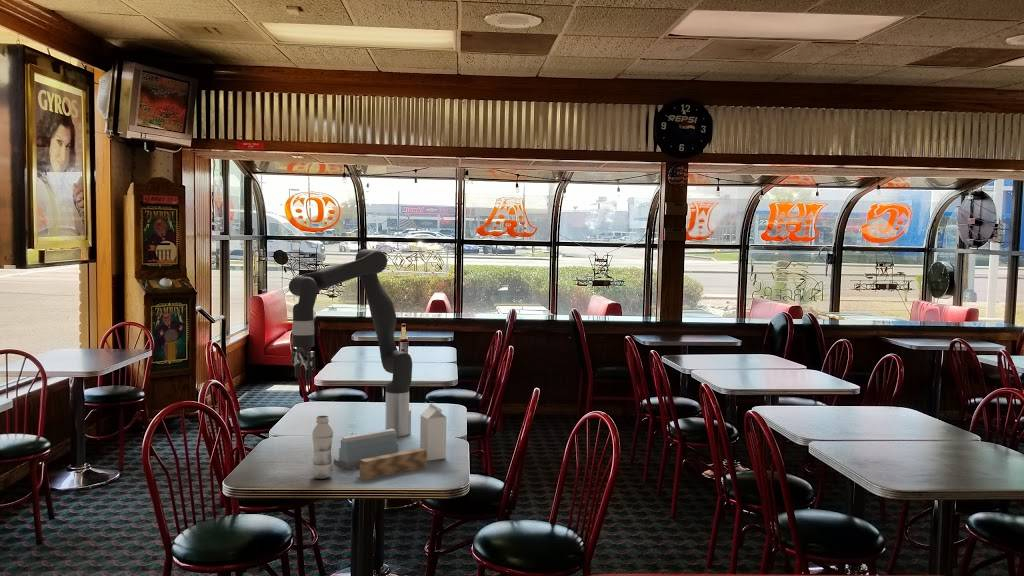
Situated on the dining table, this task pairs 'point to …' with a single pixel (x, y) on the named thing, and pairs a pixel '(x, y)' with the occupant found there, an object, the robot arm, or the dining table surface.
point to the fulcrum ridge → (366, 447)
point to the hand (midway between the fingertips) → (303, 378)
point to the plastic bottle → (322, 449)
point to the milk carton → (433, 433)
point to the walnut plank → (392, 463)
